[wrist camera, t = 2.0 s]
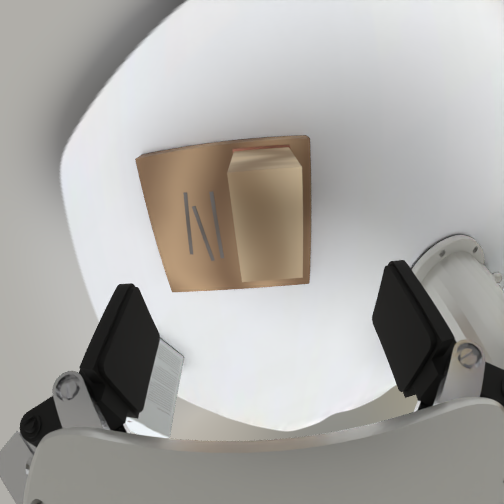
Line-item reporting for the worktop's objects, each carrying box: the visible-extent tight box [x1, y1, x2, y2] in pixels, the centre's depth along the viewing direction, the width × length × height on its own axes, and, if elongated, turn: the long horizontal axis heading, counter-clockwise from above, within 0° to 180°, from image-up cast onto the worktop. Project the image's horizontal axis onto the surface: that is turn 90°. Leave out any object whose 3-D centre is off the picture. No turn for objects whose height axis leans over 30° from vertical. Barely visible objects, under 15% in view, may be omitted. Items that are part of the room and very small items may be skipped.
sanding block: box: [227, 145, 303, 282], centre depth 18 cm, size 4×7×6 cm, turn 5°
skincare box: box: [125, 339, 184, 438], centre depth 28 cm, size 6×4×12 cm
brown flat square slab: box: [135, 135, 311, 292], centre depth 23 cm, size 13×13×2 cm
